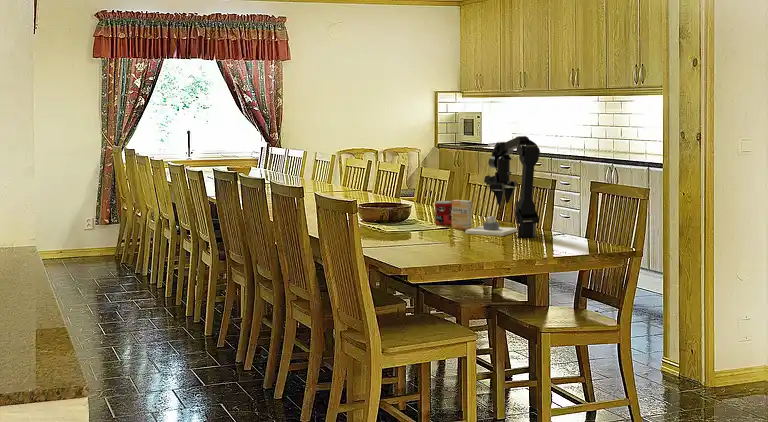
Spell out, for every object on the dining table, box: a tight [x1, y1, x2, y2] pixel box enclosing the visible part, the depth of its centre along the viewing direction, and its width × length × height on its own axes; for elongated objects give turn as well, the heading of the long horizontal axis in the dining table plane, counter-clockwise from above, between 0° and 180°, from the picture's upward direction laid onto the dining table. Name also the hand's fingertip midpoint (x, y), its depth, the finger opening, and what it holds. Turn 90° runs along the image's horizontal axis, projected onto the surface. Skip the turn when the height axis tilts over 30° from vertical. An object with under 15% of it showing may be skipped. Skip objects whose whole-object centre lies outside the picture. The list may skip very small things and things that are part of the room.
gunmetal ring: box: [482, 221, 500, 230], centre depth 425 cm, size 7×7×3 cm
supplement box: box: [451, 199, 473, 230], centre depth 439 cm, size 8×5×13 cm, turn 62°
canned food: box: [434, 200, 452, 226], centre depth 454 cm, size 8×8×11 cm
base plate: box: [464, 225, 518, 237], centre depth 425 cm, size 18×16×2 cm
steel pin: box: [486, 216, 496, 223], centre depth 424 cm, size 4×4×6 cm
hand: (503, 204), depth 430 cm, fingers open, 9 cm apart
